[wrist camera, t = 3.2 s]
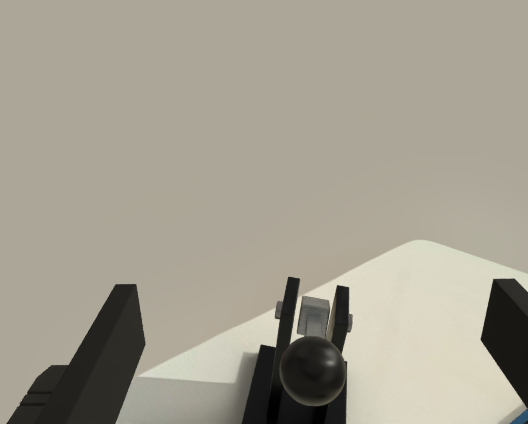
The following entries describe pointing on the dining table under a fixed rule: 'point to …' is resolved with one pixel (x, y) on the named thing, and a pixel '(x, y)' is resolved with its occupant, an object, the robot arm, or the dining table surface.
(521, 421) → the sketchbook
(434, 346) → the dining table surface
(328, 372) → the control lever
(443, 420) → the dining table surface
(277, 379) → the bracket
